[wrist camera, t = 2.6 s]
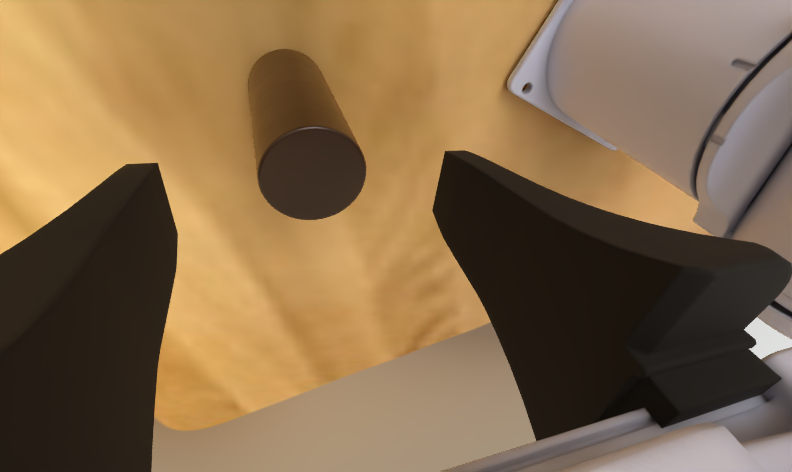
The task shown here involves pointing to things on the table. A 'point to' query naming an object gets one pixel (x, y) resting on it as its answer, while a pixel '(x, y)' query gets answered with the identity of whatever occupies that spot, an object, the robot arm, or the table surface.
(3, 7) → the table surface
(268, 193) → the brown cylinder
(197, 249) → the table surface
